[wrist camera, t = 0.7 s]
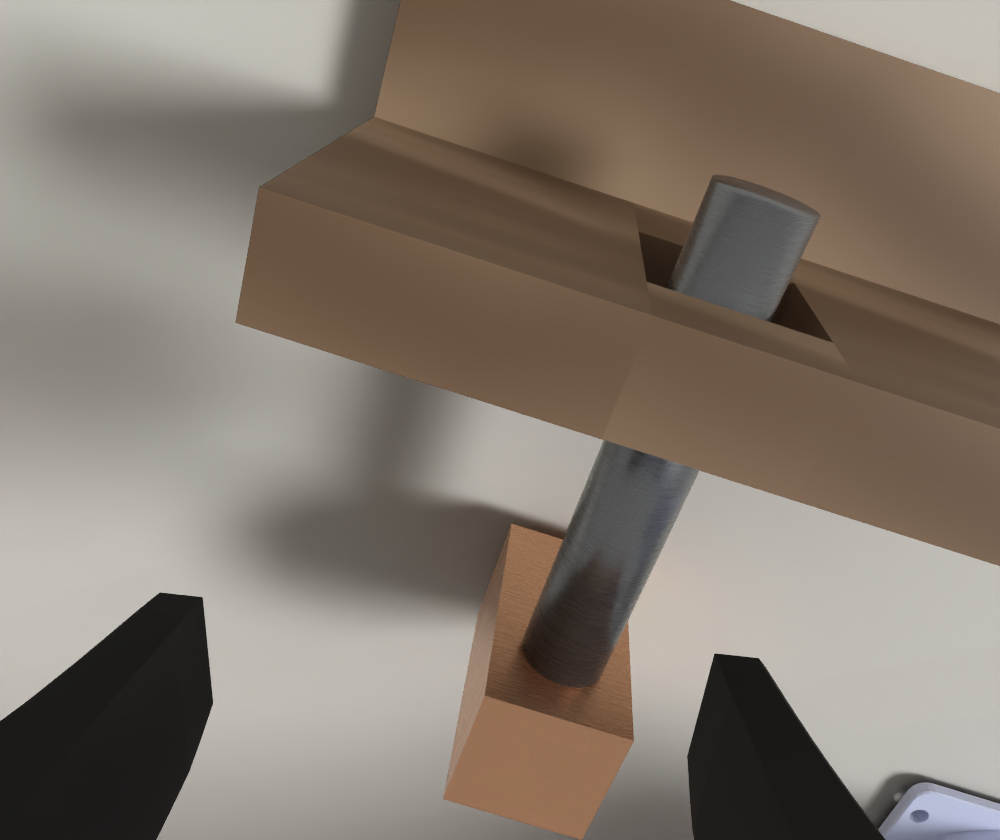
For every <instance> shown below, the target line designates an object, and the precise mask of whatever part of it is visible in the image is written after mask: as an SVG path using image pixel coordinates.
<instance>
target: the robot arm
mask: <svg viewBox="0 0 1000 840" xmlns="http://www.w3.org/2000/svg"><path fill="white" fill-rule="evenodd" d="M212 705H213V698H212V688H211V678H210V667H209V657H208V647H207V637H206V627H205V617H204V607H203V597H195V596H186V595H177V594H168V593H159V594H158V595H156V596H155V597H154V598H152V599H151V600H150V601H149V602H148V603H146V604H145V605H144V606H143V607H141V608H140V609H139V610H138V611H137V612H135V613H134V614H133V615H132V616H131V617H129V618H128V619H127V620H126V621H125V622H123V623H122V624H121V625H120V626H119V627H118V628H116V629H115V630H114V631H113V632H112V633H110V634H109V635H108V636H107V637H106V638H105V639H103V640H102V641H101V642H100V643H99V644H97V645H96V646H95V647H94V648H93V649H91V650H90V651H89V652H88V653H87V654H85V655H84V656H83V657H82V658H81V659H79V660H78V661H77V662H76V663H74V664H73V665H72V666H71V667H69V668H68V669H67V670H66V671H64V672H63V673H62V674H61V675H59V676H58V677H57V678H56V679H54V680H53V681H52V682H51V683H49V684H48V685H47V686H46V687H44V688H43V689H42V690H41V691H39V692H38V693H37V694H36V695H34V696H33V697H32V698H31V699H29V700H28V701H27V702H25V703H24V704H23V705H21V706H20V707H19V708H17V709H16V710H15V711H13V712H12V713H11V714H9V715H8V716H7V717H5V718H4V719H3V720H1V721H0V840H156V839H157V837H158V835H159V833H160V831H161V829H162V827H163V825H164V823H165V821H166V819H167V817H168V815H169V813H170V811H171V808H172V806H173V804H174V802H175V800H176V798H177V796H178V794H179V792H180V790H181V788H182V786H183V784H184V781H185V779H186V777H187V775H188V773H189V771H190V768H191V765H192V762H193V760H194V757H195V754H196V751H197V749H198V746H199V743H200V740H201V737H202V734H203V731H204V728H205V725H206V722H207V719H208V717H209V714H210V711H211V708H212ZM687 757H688V773H689V789H690V804H691V816H692V829H693V834H694V840H1000V804H999V803H995V802H992V801H989V800H986V799H982V798H979V797H976V796H972V795H969V794H966V793H963V792H959V791H956V790H953V789H949V788H946V787H943V786H940V785H936V784H933V783H927V782H923V783H918V784H915V785H913V786H912V787H911V788H910V789H908V791H907V792H906V793H905V795H904V796H903V797H902V798H901V800H900V801H899V802H898V804H897V805H896V806H895V808H894V809H893V810H892V812H891V813H890V814H889V816H888V817H887V818H886V820H885V821H884V822H883V824H882V825H881V826H880V828H879V829H877V828H876V827H875V825H874V824H873V823H872V821H871V820H870V819H869V818H868V816H867V815H866V814H865V812H864V811H863V810H862V808H861V807H860V806H859V804H858V803H857V802H856V800H855V799H854V798H853V796H852V795H851V793H850V792H849V791H848V789H847V788H846V786H845V785H844V784H843V782H842V781H841V779H840V778H839V777H838V775H837V774H836V773H835V771H834V770H833V768H832V767H831V766H830V764H829V763H828V761H827V760H826V759H825V757H824V756H823V754H822V753H821V751H820V750H819V748H818V747H817V745H816V744H815V743H814V741H813V740H812V738H811V737H810V735H809V734H808V732H807V731H806V729H805V728H804V726H803V725H802V723H801V722H800V720H799V719H798V717H797V716H796V714H795V712H794V711H793V709H792V708H791V706H790V705H789V703H788V702H787V700H786V699H785V697H784V695H783V694H782V692H781V691H780V689H779V688H778V686H777V684H776V683H775V681H774V680H773V678H772V677H771V675H770V673H769V672H768V670H767V669H766V667H765V666H764V664H763V663H762V662H761V661H760V659H759V658H751V657H742V656H733V655H724V654H714V658H713V662H712V666H711V669H710V673H709V677H708V681H707V684H706V688H705V692H704V696H703V700H702V703H701V707H700V711H699V715H698V718H697V722H696V726H695V730H694V733H693V737H692V741H691V745H690V748H689V752H688V756H687ZM916 810H918V811H916Z"/></svg>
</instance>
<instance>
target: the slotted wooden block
mask: <svg viewBox="0 0 1000 840" xmlns="http://www.w3.org/2000/svg"><path fill="white" fill-rule="evenodd" d="M713 175H725V176H730V177H734V178H738V179H742V180H745V181H749V182H752V183H755V184H758V185H761V186H764V187H767V188H769V189H772V190H775V191H777V192H780V193H782V194H784V195H787V196H789V197H791V198H793V199H796V200H798V201H800V202H802V203H804V204H806V205H807V206H809V207H811V208H813V209H814V210H816V211H817V212H818V213H819V214H820V216H821V217H820V219H819V221H818V223H817V225H816V227H815V229H814V231H813V234H812V236H811V238H810V240H809V242H808V244H807V246H806V248H805V250H804V252H803V254H802V257H801V259H800V261H799V263H798V265H797V267H796V269H795V271H794V273H793V275H792V278H791V280H790V282H789V284H788V286H787V288H786V290H785V292H784V294H783V296H782V299H781V301H780V303H779V305H778V307H777V309H776V311H775V313H774V315H773V317H772V319H771V322H768V321H765V320H762V319H759V318H756V317H753V316H750V315H746V314H743V313H740V312H737V311H734V310H731V309H728V308H725V307H722V306H719V305H716V304H713V303H710V302H707V301H704V300H701V299H698V298H695V297H692V296H688V295H685V294H682V293H679V292H676V291H673V290H670V289H667V288H666V287H667V285H668V283H669V280H670V278H671V275H672V273H673V270H674V268H675V266H676V263H677V261H678V258H679V256H680V253H681V251H682V248H683V246H684V244H685V241H686V239H687V236H688V234H689V231H690V229H691V227H692V224H693V222H694V219H695V217H696V214H697V212H698V209H699V207H700V205H701V202H702V200H703V197H704V195H705V192H706V190H707V188H708V185H709V183H710V180H711V178H712V176H713ZM235 323H238V324H241V325H244V326H248V327H251V328H254V329H257V330H260V331H263V332H266V333H270V334H273V335H276V336H279V337H282V338H285V339H288V340H292V341H295V342H298V343H301V344H304V345H307V346H310V347H314V348H317V349H320V350H323V351H326V352H329V353H332V354H336V355H339V356H342V357H345V358H348V359H351V360H354V361H358V362H361V363H364V364H367V365H370V366H373V367H376V368H380V369H383V370H386V371H389V372H392V373H395V374H398V375H401V376H405V377H408V378H411V379H414V380H417V381H420V382H423V383H427V384H430V385H433V386H436V387H439V388H442V389H445V390H449V391H452V392H455V393H458V394H461V395H464V396H467V397H471V398H474V399H477V400H480V401H483V402H486V403H489V404H493V405H496V406H499V407H502V408H505V409H508V410H511V411H515V412H518V413H521V414H524V415H527V416H530V417H533V418H537V419H540V420H543V421H546V422H549V423H552V424H555V425H559V426H562V427H565V428H568V429H571V430H574V431H577V432H581V433H584V434H587V435H590V436H593V437H596V438H599V439H603V440H606V441H609V442H612V443H615V444H618V445H621V446H625V447H628V448H631V449H634V450H637V451H640V452H643V453H647V454H650V455H653V456H656V457H659V458H662V459H665V460H668V461H672V462H675V463H678V464H681V465H684V466H687V467H690V468H694V469H697V470H700V471H703V472H706V473H709V474H712V475H716V476H719V477H722V478H725V479H728V480H731V481H734V482H738V483H741V484H744V485H747V486H750V487H753V488H756V489H760V490H763V491H766V492H769V493H772V494H775V495H778V496H782V497H785V498H788V499H791V500H794V501H797V502H800V503H804V504H807V505H810V506H813V507H816V508H819V509H822V510H826V511H829V512H832V513H835V514H838V515H841V516H844V517H848V518H851V519H854V520H857V521H860V522H863V523H866V524H870V525H873V526H876V527H879V528H882V529H885V530H888V531H892V532H895V533H898V534H901V535H904V536H907V537H910V538H914V539H917V540H920V541H923V542H926V543H929V544H932V545H936V546H939V547H942V548H945V549H948V550H951V551H954V552H957V553H961V554H964V555H967V556H970V557H973V558H976V559H979V560H983V561H986V562H989V563H992V564H995V565H998V566H1000V93H997V92H994V91H992V90H989V89H986V88H983V87H980V86H977V85H974V84H971V83H968V82H965V81H963V80H960V79H957V78H954V77H951V76H948V75H945V74H942V73H939V72H936V71H934V70H931V69H928V68H925V67H922V66H919V65H916V64H913V63H910V62H907V61H905V60H902V59H899V58H896V57H893V56H890V55H887V54H884V53H881V52H878V51H875V50H873V49H870V48H867V47H864V46H861V45H858V44H855V43H852V42H849V41H846V40H844V39H841V38H838V37H835V36H832V35H829V34H826V33H823V32H820V31H817V30H815V29H812V28H809V27H806V26H803V25H800V24H797V23H794V22H791V21H788V20H786V19H783V18H780V17H777V16H774V15H771V14H768V13H765V12H762V11H759V10H756V9H754V8H751V7H748V6H745V5H742V4H739V3H736V2H733V1H730V0H401V1H400V5H399V10H398V14H397V18H396V23H395V27H394V32H393V36H392V40H391V45H390V49H389V54H388V58H387V63H386V67H385V71H384V76H383V80H382V85H381V89H380V93H379V98H378V102H377V107H376V111H375V115H374V117H373V118H371V119H370V120H368V121H366V122H365V123H363V124H362V125H360V126H358V127H357V128H355V129H353V130H352V131H350V132H349V133H347V134H345V135H344V136H342V137H340V138H339V139H337V140H335V141H334V142H332V143H331V144H329V145H327V146H326V147H324V148H322V149H321V150H319V151H318V152H316V153H314V154H313V155H311V156H309V157H308V158H306V159H304V160H303V161H301V162H300V163H298V164H296V165H295V166H293V167H291V168H290V169H288V170H286V171H285V172H283V173H282V174H280V175H278V176H277V177H275V178H273V179H272V180H270V181H269V182H267V183H265V184H264V185H262V186H260V187H259V191H258V196H257V202H256V208H255V213H254V219H253V225H252V231H251V236H250V242H249V248H248V254H247V259H246V265H245V271H244V277H243V282H242V288H241V294H240V299H239V305H238V311H237V317H236V322H235Z"/></svg>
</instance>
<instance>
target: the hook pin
mask: <svg viewBox="0 0 1000 840" xmlns="http://www.w3.org/2000/svg"><path fill="white" fill-rule="evenodd" d="M820 217H821V216H820V214H819V213H818V212H817V211H816V210H814V209H813V208H811V207H809V206H807V205H806V204H804V203H802V202H800V201H798V200H796V199H793V198H791V197H789V196H787V195H784V194H782V193H780V192H777V191H775V190H772V189H769V188H767V187H764V186H761V185H758V184H755V183H752V182H749V181H745V180H742V179H738V178H734V177H730V176H725V175H713V176H712V178H711V180H710V183H709V185H708V188H707V190H706V192H705V195H704V197H703V200H702V202H701V205H700V207H699V209H698V212H697V214H696V217H695V219H694V222H693V224H692V227H691V229H690V231H689V234H688V236H687V239H686V241H685V244H684V246H683V248H682V251H681V253H680V256H679V258H678V261H677V263H676V266H675V268H674V270H673V273H672V275H671V278H670V280H669V283H668V285H667V287H666V288H667V289H670V290H673V291H676V292H679V293H682V294H685V295H688V296H692V297H695V298H698V299H701V300H704V301H707V302H710V303H713V304H716V305H719V306H722V307H725V308H728V309H731V310H734V311H737V312H740V313H743V314H746V315H750V316H753V317H756V318H759V319H762V320H765V321H768V322H771V319H772V317H773V315H774V313H775V311H776V309H777V307H778V305H779V303H780V301H781V299H782V296H783V294H784V292H785V290H786V288H787V286H788V284H789V282H790V280H791V278H792V275H793V273H794V271H795V269H796V267H797V265H798V263H799V261H800V259H801V257H802V254H803V252H804V250H805V248H806V246H807V244H808V242H809V240H810V238H811V236H812V234H813V231H814V229H815V227H816V225H817V223H818V221H819V219H820ZM698 472H699V470H697V469H694V468H690V467H687V466H684V465H681V464H678V463H675V462H672V461H668V460H665V459H662V458H659V457H656V456H653V455H650V454H647V453H643V452H640V451H637V450H634V449H631V448H628V447H625V446H621V445H618V444H615V443H612V442H609V441H606V440H604V441H603V443H602V446H601V448H600V451H599V453H598V456H597V458H596V461H595V463H594V465H593V468H592V470H591V473H590V475H589V478H588V480H587V482H586V485H585V487H584V490H583V492H582V495H581V497H580V499H579V502H578V504H577V507H576V509H575V512H574V514H573V517H572V519H571V521H570V524H569V526H568V529H567V531H566V534H565V536H564V538H563V539H559V538H556V537H553V536H550V535H547V534H543V533H540V532H537V531H534V530H531V529H527V528H524V527H521V526H518V525H515V524H511V527H510V529H509V532H508V535H507V537H506V540H505V543H504V545H503V548H502V551H501V553H500V556H499V559H498V561H497V564H496V567H495V569H494V572H493V575H492V577H491V580H490V583H489V585H488V588H487V591H486V594H485V596H484V599H483V602H482V604H481V607H480V610H479V612H478V617H477V622H476V627H475V633H474V638H473V643H472V649H471V654H470V659H469V665H468V670H467V675H466V681H465V686H464V691H463V697H462V702H461V707H460V713H459V718H458V723H457V729H456V734H455V739H454V745H453V750H452V755H451V760H450V766H449V771H448V776H447V782H446V787H445V792H444V798H443V799H445V800H449V801H452V802H456V803H459V804H462V805H466V806H469V807H472V808H476V809H479V810H483V811H486V812H489V813H493V814H496V815H499V816H503V817H506V818H509V819H513V820H516V821H520V822H523V823H526V824H530V825H533V826H536V827H540V828H543V829H547V830H550V831H553V832H557V833H560V834H564V835H567V836H570V837H574V838H577V839H580V840H582V839H583V837H584V835H585V833H586V831H587V829H588V827H589V825H590V823H591V822H592V820H593V818H594V816H595V814H596V812H597V810H598V808H599V806H600V804H601V802H602V801H603V799H604V797H605V795H606V793H607V791H608V789H609V787H610V785H611V783H612V781H613V780H614V778H615V776H616V774H617V772H618V770H619V768H620V766H621V764H622V762H623V761H624V759H625V757H626V755H627V753H628V751H629V749H630V747H631V745H632V743H633V741H634V735H633V715H632V694H631V673H630V652H629V632H628V619H629V617H630V615H631V613H632V611H633V609H634V607H635V605H636V602H637V600H638V598H639V596H640V594H641V592H642V590H643V588H644V586H645V584H646V581H647V579H648V577H649V575H650V573H651V571H652V569H653V567H654V565H655V563H656V561H657V558H658V556H659V554H660V552H661V550H662V548H663V546H664V544H665V542H666V540H667V537H668V535H669V533H670V531H671V529H672V527H673V525H674V523H675V521H676V519H677V516H678V514H679V512H680V510H681V508H682V506H683V504H684V502H685V500H686V498H687V496H688V493H689V491H690V489H691V487H692V485H693V483H694V481H695V479H696V477H697V475H698Z"/></svg>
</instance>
